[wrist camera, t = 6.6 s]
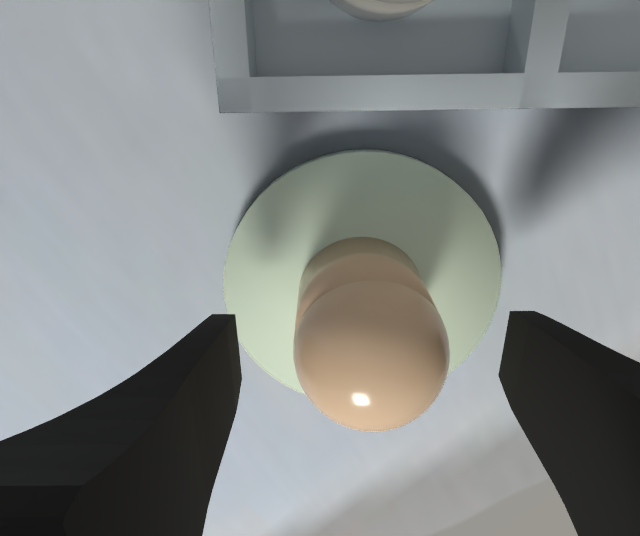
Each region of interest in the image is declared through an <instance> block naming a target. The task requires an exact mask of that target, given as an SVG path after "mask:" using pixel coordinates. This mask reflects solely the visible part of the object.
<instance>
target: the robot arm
mask: <svg viewBox="0 0 640 536" xmlns="http://www.w3.org/2000/svg"><path fill="white" fill-rule="evenodd" d="M499 378H500V381H501V384H502V386H503V389H504V392H505V394H506V397H507V399H508V402H509V404H510V407H511V409H512V411H513V413H514V415H515V417H516V418H517V420H518V422H519V424H520V425H521V427H522V429H523V431H524V433H525V434H526V436H527V438H528V440H529V441H530V443H531V445H532V447H533V448H534V450H535V452H536V454H537V455H538V457H539V459H540V461H541V462H542V464H543V466H544V468H545V469H546V471H547V473H548V475H549V476H550V478H551V480H552V482H553V483H554V485H555V487H556V489H557V491H558V493H559V495H560V497H561V498H562V501H563V503H564V504H565V507H566V509H567V511H568V513H569V516H570V518H571V520H572V522H573V525H574V527H575V529H576V532H577V534H578V536H640V363H639V362H637V361H635V360H633V359H630V358H628V357H626V356H624V355H622V354H620V353H618V352H616V351H614V350H612V349H610V348H608V347H606V346H604V345H602V344H600V343H598V342H596V341H594V340H592V339H590V338H588V337H586V336H585V335H583V334H581V333H579V332H577V331H575V330H573V329H571V328H569V327H567V326H565V325H563V324H561V323H559V322H557V321H555V320H553V319H551V318H549V317H547V316H545V315H543V314H540V313H538V312H535V311H510V315H509V320H508V326H507V332H506V337H505V343H504V348H503V354H502V360H501V365H500V371H499ZM241 380H242V375H241V365H240V356H239V346H238V336H237V326H236V316H235V314H212V315H211V316H209V317H208V318H207V319H205V320H204V321H203V322H202V323H201V324H199V325H198V326H197V327H196V328H195V329H193V330H192V331H191V332H190V333H189V334H187V335H186V336H185V337H184V338H182V339H181V340H180V341H179V342H177V343H176V344H175V345H174V346H172V347H171V348H170V349H169V350H167V351H166V352H165V353H163V354H162V355H161V356H159V357H158V358H157V359H155V360H154V361H152V362H151V363H150V364H148V365H147V366H146V367H144V368H143V369H141V370H140V371H139V372H137V373H136V374H134V375H133V376H131V377H130V378H128V379H126V380H125V381H123V382H122V383H120V384H118V385H117V386H115V387H113V388H112V389H110V390H108V391H107V392H105V393H103V394H101V395H100V396H98V397H96V398H94V399H92V400H90V401H88V402H86V403H84V404H82V405H80V406H78V407H76V408H74V409H72V410H70V411H68V412H66V413H64V414H62V415H60V416H58V417H56V418H54V419H52V420H50V421H48V422H45V423H43V424H41V425H38V426H36V427H34V428H32V429H29V430H27V431H24V432H22V433H19V434H17V435H14V436H12V437H9V438H7V439H4V440H2V441H0V536H202V534H203V529H204V524H205V519H206V514H207V509H208V504H209V501H210V497H211V493H212V489H213V486H214V483H215V479H216V476H217V473H218V470H219V466H220V463H221V460H222V457H223V454H224V450H225V447H226V444H227V441H228V437H229V434H230V431H231V428H232V424H233V421H234V418H235V414H236V410H237V405H238V399H239V393H240V386H241Z"/></svg>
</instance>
